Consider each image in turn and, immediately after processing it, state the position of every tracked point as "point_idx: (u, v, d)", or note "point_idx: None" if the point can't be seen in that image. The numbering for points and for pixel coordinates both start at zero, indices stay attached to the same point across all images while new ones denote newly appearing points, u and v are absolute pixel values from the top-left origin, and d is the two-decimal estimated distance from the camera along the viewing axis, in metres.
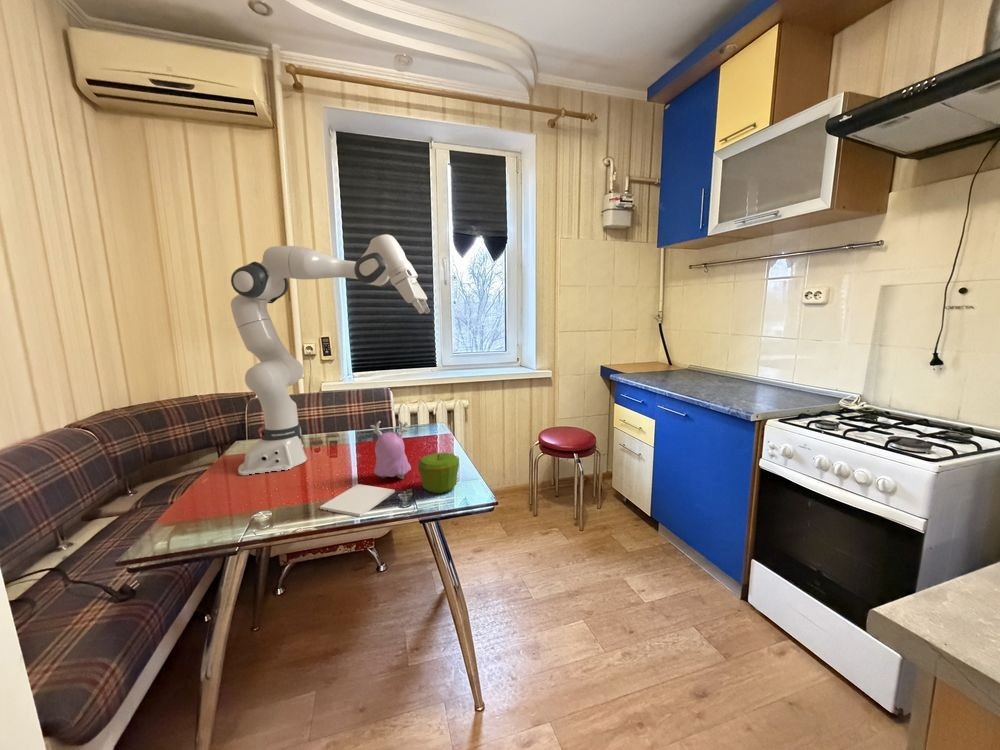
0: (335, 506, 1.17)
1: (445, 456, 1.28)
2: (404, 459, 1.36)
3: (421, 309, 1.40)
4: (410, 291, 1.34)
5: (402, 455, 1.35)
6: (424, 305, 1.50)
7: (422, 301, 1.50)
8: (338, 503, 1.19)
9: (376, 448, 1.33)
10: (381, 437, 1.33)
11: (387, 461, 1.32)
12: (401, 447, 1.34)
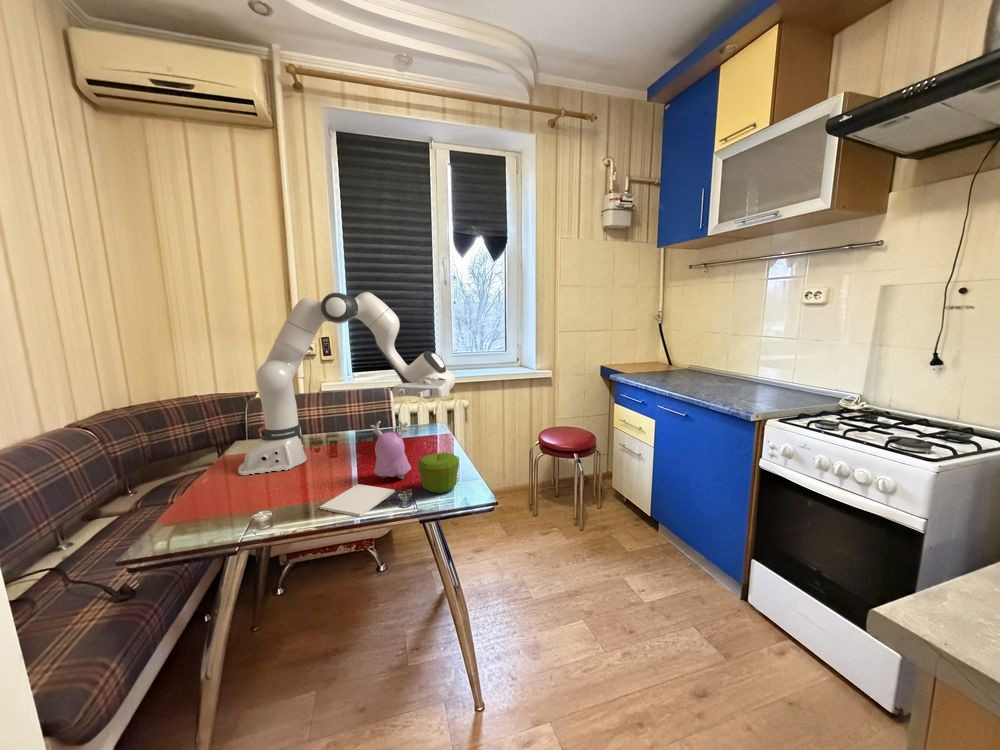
0: (335, 506, 1.17)
1: (445, 456, 1.28)
2: (404, 459, 1.36)
3: (422, 395, 1.44)
4: (444, 394, 1.49)
5: (402, 455, 1.35)
6: None
7: (404, 392, 1.51)
8: (338, 503, 1.19)
9: (376, 448, 1.33)
10: (381, 437, 1.33)
11: (387, 461, 1.32)
12: (401, 447, 1.34)
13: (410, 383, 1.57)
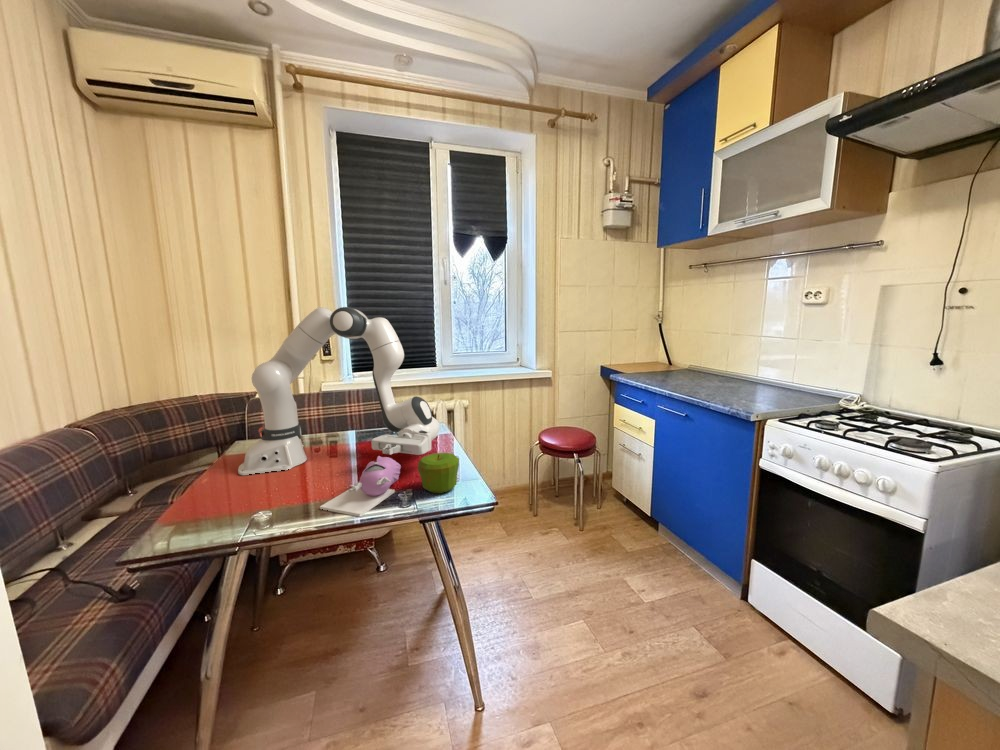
0: (335, 506, 1.17)
1: (445, 456, 1.28)
2: (394, 475, 1.29)
3: (392, 452, 1.35)
4: (425, 451, 1.38)
5: (392, 479, 1.27)
6: None
7: (391, 448, 1.39)
8: (338, 503, 1.19)
9: None
10: (366, 492, 1.21)
11: None
12: (390, 483, 1.24)
13: (389, 435, 1.46)
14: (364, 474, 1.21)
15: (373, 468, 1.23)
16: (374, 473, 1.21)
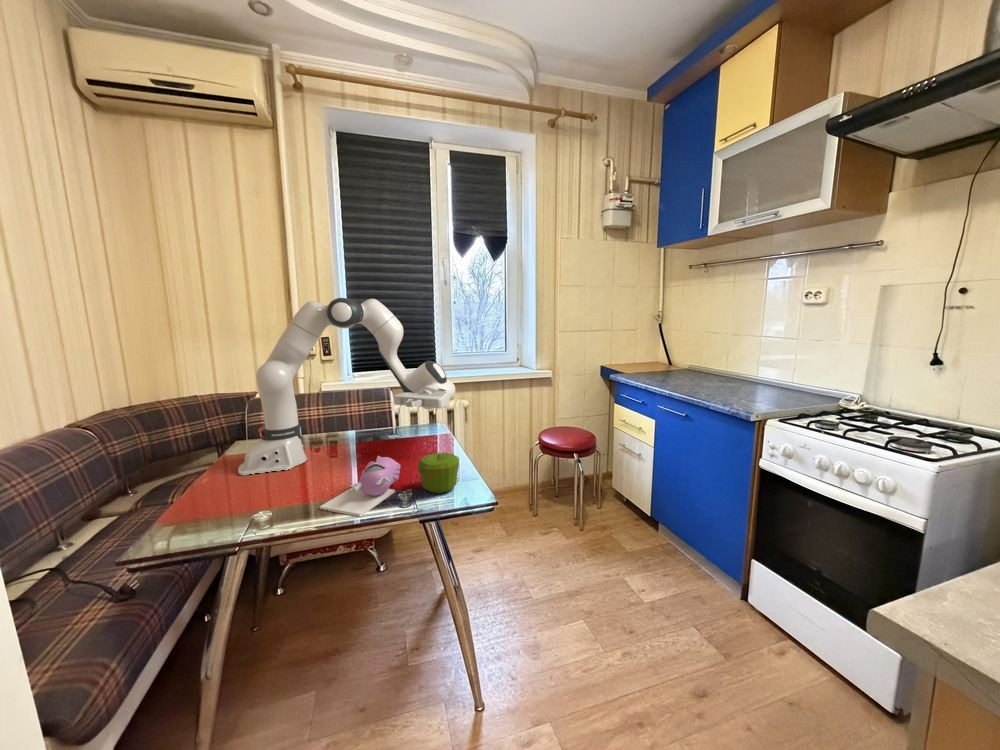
0: (335, 506, 1.17)
1: (445, 456, 1.28)
2: (394, 475, 1.29)
3: (414, 405, 1.46)
4: (444, 405, 1.49)
5: (392, 479, 1.27)
6: None
7: None
8: (338, 503, 1.19)
9: None
10: (366, 492, 1.21)
11: None
12: (390, 483, 1.24)
13: (410, 393, 1.57)
14: (364, 474, 1.21)
15: (373, 468, 1.23)
16: (374, 473, 1.21)
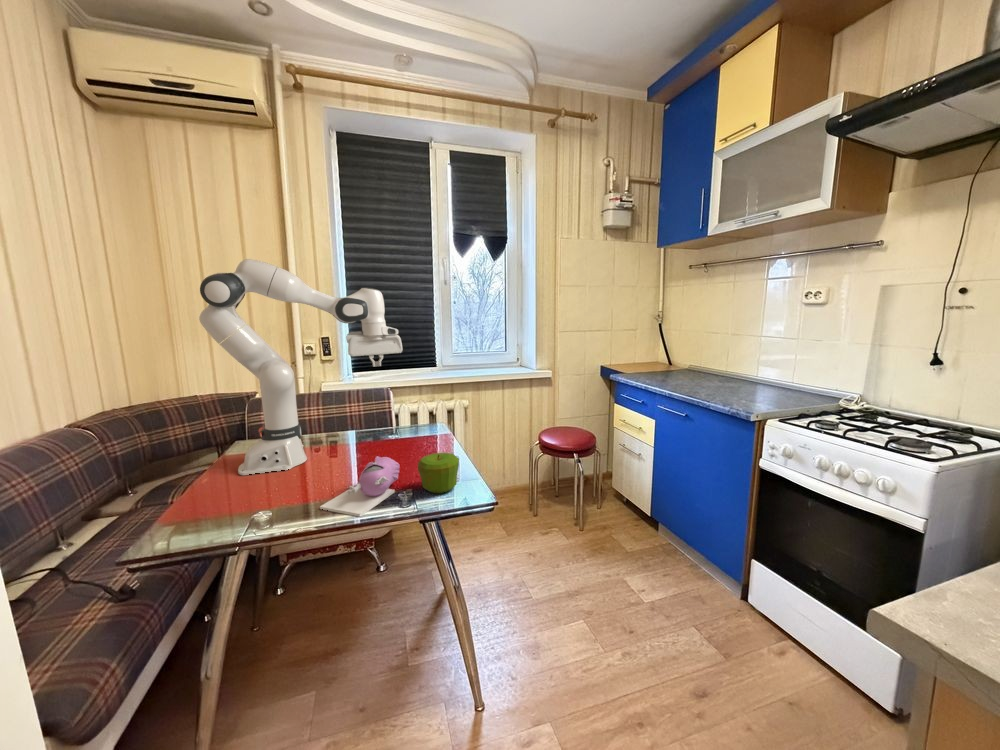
0: (335, 506, 1.17)
1: (445, 456, 1.28)
2: (393, 474, 1.29)
3: None
4: None
5: (391, 478, 1.27)
6: (372, 359, 1.60)
7: None
8: (338, 503, 1.19)
9: None
10: (366, 492, 1.21)
11: None
12: (389, 483, 1.24)
13: (359, 340, 1.56)
14: (363, 475, 1.21)
15: (371, 468, 1.23)
16: (372, 473, 1.21)
